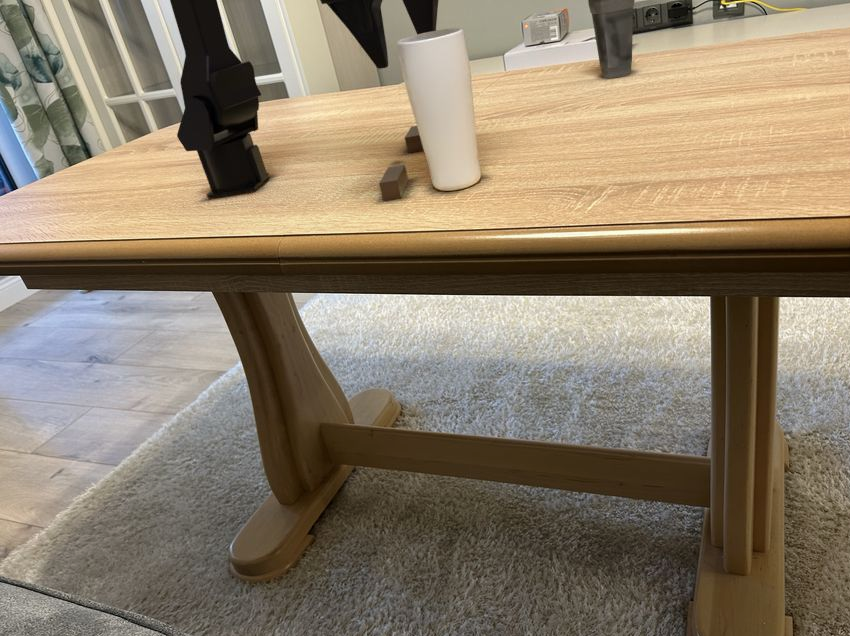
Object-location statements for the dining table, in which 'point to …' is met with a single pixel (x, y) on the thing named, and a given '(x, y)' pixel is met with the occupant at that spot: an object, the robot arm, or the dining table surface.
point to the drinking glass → (442, 104)
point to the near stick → (393, 182)
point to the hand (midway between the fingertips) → (407, 57)
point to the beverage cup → (613, 35)
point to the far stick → (413, 140)
